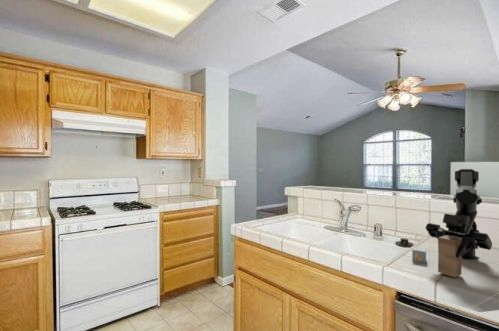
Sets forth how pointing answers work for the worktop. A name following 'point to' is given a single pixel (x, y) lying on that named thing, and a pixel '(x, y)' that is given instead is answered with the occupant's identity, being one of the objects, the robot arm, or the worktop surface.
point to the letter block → (419, 254)
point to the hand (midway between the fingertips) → (447, 254)
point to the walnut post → (449, 256)
